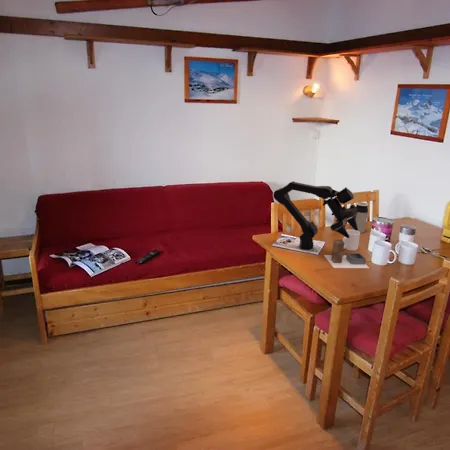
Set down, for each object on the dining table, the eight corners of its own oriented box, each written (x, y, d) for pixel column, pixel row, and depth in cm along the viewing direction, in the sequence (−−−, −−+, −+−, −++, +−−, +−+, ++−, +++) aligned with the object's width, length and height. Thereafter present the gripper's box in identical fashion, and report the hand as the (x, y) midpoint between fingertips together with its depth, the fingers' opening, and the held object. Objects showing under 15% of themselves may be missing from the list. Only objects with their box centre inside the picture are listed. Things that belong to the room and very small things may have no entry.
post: (333, 262, 204) (336, 242, 200) (331, 259, 207) (333, 239, 204) (341, 262, 204) (344, 242, 200) (338, 259, 208) (341, 239, 204)
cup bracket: (351, 264, 203) (352, 258, 202) (345, 258, 210) (346, 253, 209) (364, 264, 203) (365, 258, 202) (359, 258, 210) (360, 253, 209)
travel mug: (366, 233, 252) (370, 205, 247) (353, 232, 252) (357, 205, 247) (362, 229, 260) (366, 202, 254) (349, 228, 260) (354, 201, 254)
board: (333, 269, 198) (334, 267, 198) (323, 256, 213) (323, 255, 213) (369, 269, 200) (369, 268, 199) (356, 257, 215) (356, 255, 214)
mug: (346, 254, 218) (349, 236, 214) (334, 249, 224) (337, 232, 221) (360, 250, 224) (363, 232, 221) (348, 245, 231) (350, 228, 227)
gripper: (339, 209, 196) (356, 236, 195) (357, 195, 207) (373, 221, 207) (322, 217, 204) (339, 243, 204) (340, 204, 216) (356, 228, 215)
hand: (353, 234), depth 207 cm, fingers open, 9 cm apart
